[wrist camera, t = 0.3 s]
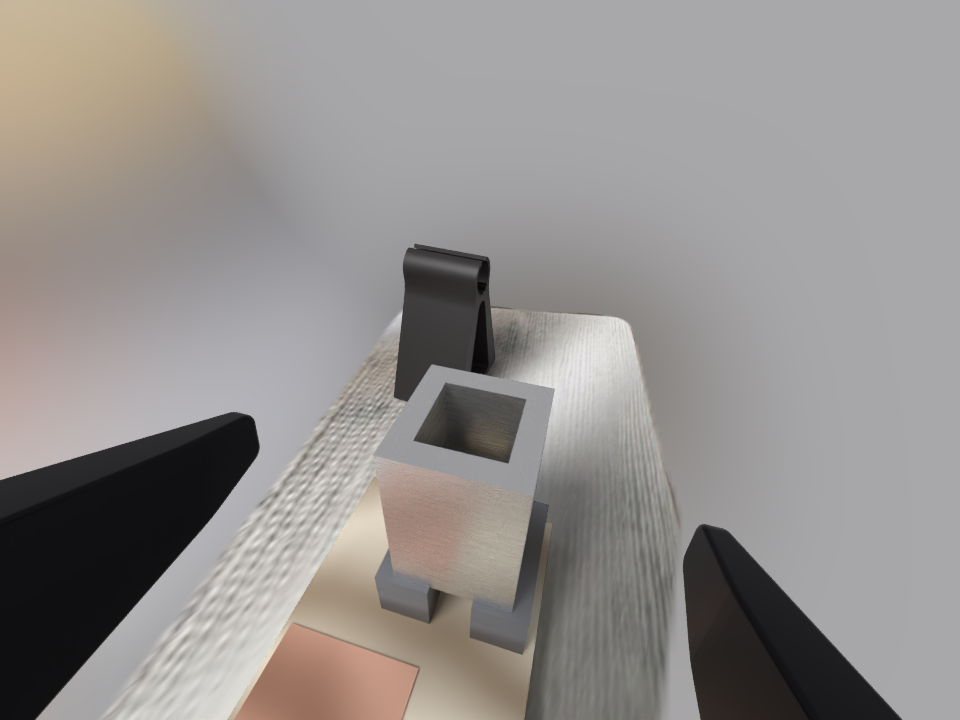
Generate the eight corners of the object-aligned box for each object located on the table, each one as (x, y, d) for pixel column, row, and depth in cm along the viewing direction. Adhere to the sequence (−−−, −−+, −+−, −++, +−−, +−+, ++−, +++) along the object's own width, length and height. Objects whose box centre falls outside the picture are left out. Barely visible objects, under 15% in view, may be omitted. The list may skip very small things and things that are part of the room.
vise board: (478, 1019, 12) (494, 1083, 7) (166, 855, 14) (14, 819, 9) (549, 538, 25) (572, 440, 20) (376, 491, 27) (359, 393, 22)
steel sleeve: (511, 613, 17) (533, 495, 12) (393, 576, 18) (373, 455, 14) (532, 505, 21) (554, 388, 17) (436, 481, 22) (431, 364, 18)
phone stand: (440, 346, 41) (437, 228, 34) (495, 360, 40) (504, 240, 33) (393, 399, 35) (378, 266, 28) (457, 419, 33) (459, 282, 26)
